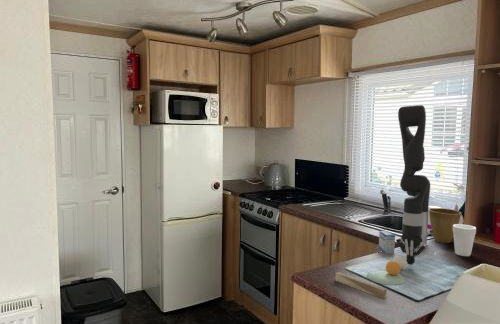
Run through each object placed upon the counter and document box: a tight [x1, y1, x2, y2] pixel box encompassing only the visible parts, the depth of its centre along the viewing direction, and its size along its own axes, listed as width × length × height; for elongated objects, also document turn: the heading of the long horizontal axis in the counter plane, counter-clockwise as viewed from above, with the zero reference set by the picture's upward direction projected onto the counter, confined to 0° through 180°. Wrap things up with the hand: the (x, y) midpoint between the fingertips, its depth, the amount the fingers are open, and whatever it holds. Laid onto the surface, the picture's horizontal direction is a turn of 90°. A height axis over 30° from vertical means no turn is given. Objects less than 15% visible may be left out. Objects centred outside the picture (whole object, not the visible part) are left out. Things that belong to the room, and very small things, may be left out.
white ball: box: [392, 255, 408, 271], centre depth 159 cm, size 6×6×6 cm
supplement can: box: [427, 205, 442, 236], centre depth 216 cm, size 8×8×15 cm
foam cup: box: [453, 223, 477, 257], centre depth 180 cm, size 10×9×13 cm
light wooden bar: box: [335, 271, 388, 300], centre depth 139 cm, size 2×20×3 cm, turn 39°
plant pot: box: [429, 207, 462, 244], centre depth 201 cm, size 15×15×16 cm
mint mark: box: [366, 270, 406, 286], centre depth 150 cm, size 14×14×1 cm
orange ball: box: [385, 260, 401, 275], centre depth 153 cm, size 6×6×6 cm
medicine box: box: [378, 230, 396, 254], centre depth 184 cm, size 8×4×9 cm, turn 5°
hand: (410, 264), depth 161 cm, fingers closed
